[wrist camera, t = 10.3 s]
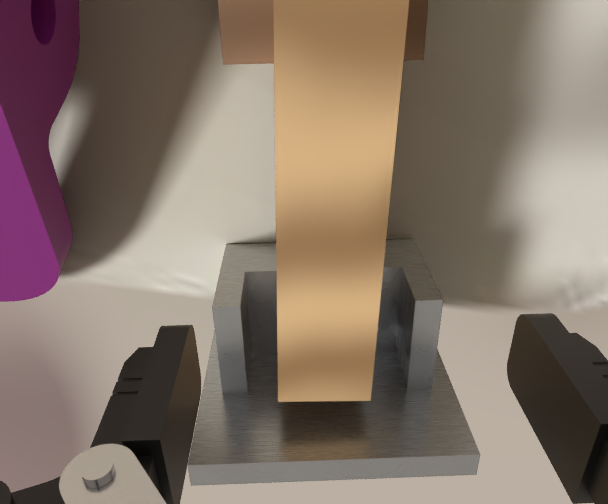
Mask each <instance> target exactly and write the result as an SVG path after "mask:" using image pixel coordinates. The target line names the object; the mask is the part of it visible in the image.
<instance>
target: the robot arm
mask: <svg viewBox="0 0 608 504" xmlns="http://www.w3.org/2000/svg"><path fill="white" fill-rule="evenodd" d="M507 374H508V380H509V383H510V387H511V389H512V390H513V393H514V394H515V396H516V398H517V400H518V402H519V404H520V405H521V407H522V409H523V411H524V413H525V415H526V417H527V418H528V420H529V423H530V424H531V426H532V428H533V430H534V432H535V434H536V436H537V437H538V439H539V441H540V443H541V445H542V447H543V449H544V450H545V452H546V454H547V456H548V458H549V460H550V462H551V464H552V465H553V467H554V469H555V471H556V472H557V475H558V477H559V478H560V480H561V482H562V484H563V486H564V488H565V489H566V492H567V493H568V495H569V497H570V499H571V501H572V503H573V504H577V503H595V504H608V360H607V359H606V358H605V357H604V355H603V354H602V353H601V352H600V351H599V349H598V348H597V347H596V346H595V345H593V344H592V343H590V342H589V341H587V340H586V339H585V338H583V337H582V336H580V335H579V334H577V333H569V332H568V331H567V330H566V328H565V327H564V326H563V325H562V323H561V322H560V321H559V319H558V318H557V317H556V316H555V315H554V314H552V313H548V314H521V315H520V316H519V317H518V319H517V321H516V325H515V330H514V335H513V340H512V344H511V349H510V353H509V358H508V363H507ZM200 395H201V374H200V366H199V360H198V353H197V346H196V340H195V333H194V328H193V326H192V325H176V326H161V327H160V329H159V332H158V335H157V338H156V341H155V344H154V347H143V348H138V349H137V350H136V351H135V352H134V353H133V354H132V355H131V356H130V357H129V358H128V359H127V360H126V362H125V363H124V365H123V367H122V370H121V373H120V375H119V378H118V382H116V385H115V387H114V390H113V395H112V396H111V398H110V400H109V402H108V405H107V407H106V410H105V412H104V415H103V417H102V420H101V423H100V425H99V428H98V430H97V432H96V435H95V437H94V440H93V442H92V445H91V447H90V449H88V450H85V451H84V452H82V453H81V454H79V455H78V456H77V457H75V458H74V459H73V460H72V461H71V462H70V463H69V464H68V465H67V466H66V468H65V469H64V471H63V473H62V475H61V476H60V477H58V478H56V479H54V480H51V481H48V482H46V483H42V484H39V485H36V486H33V487H29V488H26V489H23V490H19V491H16V492H13V493H11V492H10V490H9V487H8V486H7V485H6V484H5V483H3V482H2V481H0V504H180V499H181V494H182V489H183V484H184V479H185V474H186V469H187V463H188V458H189V453H190V448H191V443H192V438H193V432H194V427H195V422H196V417H197V412H198V406H199V401H200Z"/></svg>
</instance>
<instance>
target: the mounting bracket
mask: <svg viewBox="0 0 608 504" xmlns="http://www.w3.org/2000/svg"><path fill="white" fill-rule="evenodd" d="M79 40H80V35H79V0H0V301H20V300H26V299H31V298H34V297H37V296H40V295H42V294H44V293H46V292H47V291H49V290H50V289H51V288H52V287H53V286H54V285H55V284H56V282H57V280H58V277H59V275H60V272H61V270H62V267H63V264H64V262H65V259H66V257H67V254H68V252H69V249H70V246H71V244H72V239H73V231H72V227H71V223H70V219H69V216H68V213H67V209H66V206H65V203H64V199H63V196H62V193H61V189H60V186H59V183H58V179H57V176H56V173H55V169H54V166H53V163H52V159H51V156H50V152H49V145H48V142H49V133H50V129H51V127H52V125H53V123H54V121H55V119H56V117H57V115H58V113H59V111H60V109H61V107H62V105H63V103H64V101H65V99H66V96H67V94H68V92H69V89H70V86H71V83H72V80H73V76H74V72H75V68H76V63H77V57H78V50H79Z"/></svg>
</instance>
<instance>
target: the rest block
mask: <svg viewBox="0 0 608 504" xmlns="http://www.w3.org/2000/svg"><path fill="white" fill-rule="evenodd" d="M218 9H219V21H220V33H221V45H222V57H223V64H265V63H274V11H273V0H218ZM427 11H428V0H409V8H408V18H407V29H406V39H405V50H404V60H423V59H424V47H425V35H426V23H427Z"/></svg>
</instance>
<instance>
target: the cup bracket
mask: <svg viewBox="0 0 608 504" xmlns="http://www.w3.org/2000/svg"><path fill="white" fill-rule="evenodd" d="M442 305H443V299H442V297H441V294H440V292H439V290H438V288H437V286H436V284H435V282H434V280H433V278H432V276H431V274H430V272H429V270H428V268H427V266H426V264H425V262H424V260H423V257H422V255H421V253H420V251H419V249H418V247H417V245H416V243H415V241H414V239H392V240H386V247H385V257H384V268H383V278H382V289H381V299H380V309H379V320H378V330H377V340H376V351H375V361H374V372H373V382H372V392H371V401H303V402H278V351H277V266H276V243H256V244H226V247H225V252H224V256H223V261H222V265H221V270H220V274H219V279H218V283H217V288H216V292H215V297H214V301H213V306H212V310H213V318H214V327H215V331H214V336H213V341H212V346H211V351H210V356H209V361H208V366H207V371H206V376H205V381H204V386H203V391H202V396H201V401H200V406H199V411H198V416H197V421H196V426H195V431H194V436H193V441H192V446H191V451H190V456H189V461H188V471H189V477H190V483H191V485H217V484H218V485H219V484H245V483H271V482H295V481H296V482H297V481H323V480H348V479H376V478H401V477H425V476H427V477H428V476H455V475H476V474H477V469H478V463H479V458H480V453H479V450H478V448H477V446H476V443H475V441H474V438H473V436H472V433H471V431H470V428H469V426H468V423H467V421H466V418H465V416H464V414H463V411H462V408H461V406H460V403H459V401H458V399H457V396H456V394H455V391H454V389H453V386H452V384H451V382H450V379H449V376H448V374H447V372H446V369H445V367H444V364H443V362H442V359H441V357H440V355H439V352H438V349H437V345H438V337H439V329H440V321H441V313H442Z"/></svg>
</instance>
